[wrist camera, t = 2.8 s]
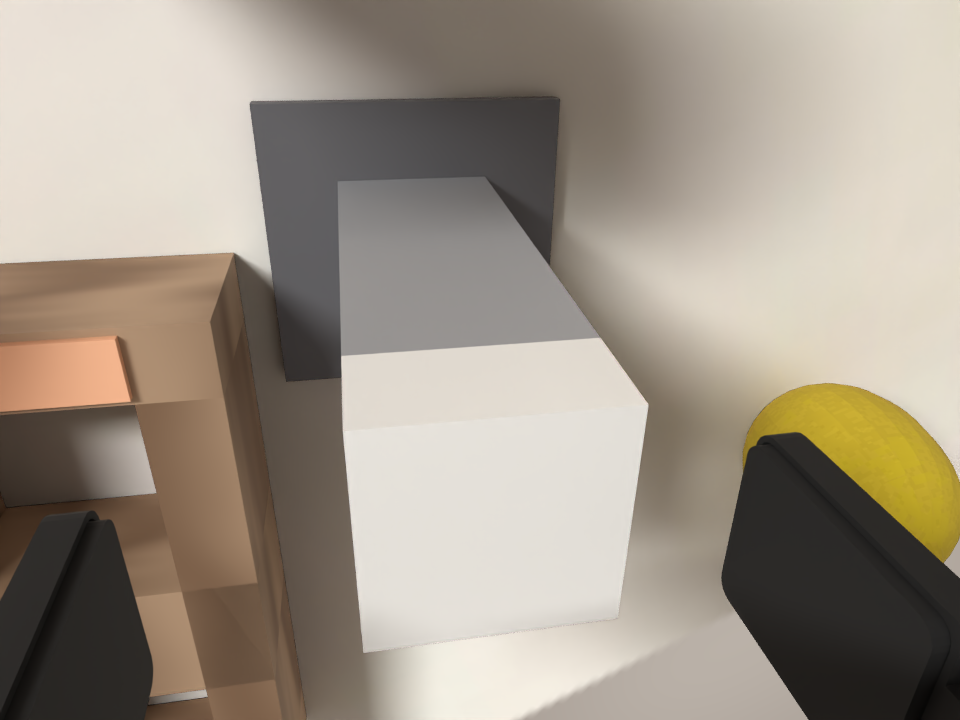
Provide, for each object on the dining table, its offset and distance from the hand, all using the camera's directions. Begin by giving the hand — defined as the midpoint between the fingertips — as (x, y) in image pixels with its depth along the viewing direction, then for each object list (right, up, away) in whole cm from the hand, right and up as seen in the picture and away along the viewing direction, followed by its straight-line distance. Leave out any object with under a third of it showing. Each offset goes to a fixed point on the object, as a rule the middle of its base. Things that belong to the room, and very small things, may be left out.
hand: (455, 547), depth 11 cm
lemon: (+11, +1, +16) cm, 19 cm away
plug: (-1, +6, +10) cm, 12 cm away
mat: (-2, +6, +10) cm, 12 cm away
